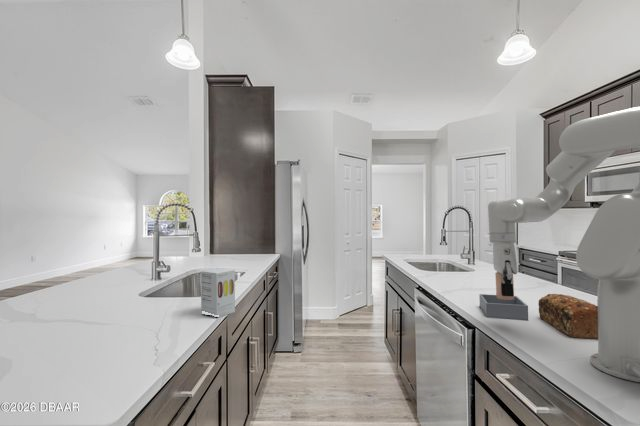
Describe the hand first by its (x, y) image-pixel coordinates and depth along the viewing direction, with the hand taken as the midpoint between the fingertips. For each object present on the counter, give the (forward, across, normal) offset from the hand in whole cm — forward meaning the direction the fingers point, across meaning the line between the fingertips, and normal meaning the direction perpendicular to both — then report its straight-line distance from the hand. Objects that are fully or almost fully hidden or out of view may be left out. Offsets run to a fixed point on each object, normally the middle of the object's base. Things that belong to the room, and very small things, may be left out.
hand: (505, 293), depth 102 cm
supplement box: (+9, -11, +102) cm, 103 cm away
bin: (+11, +16, -2) cm, 19 cm away
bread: (+12, +5, -19) cm, 23 cm away
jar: (+2, 0, 0) cm, 2 cm away
